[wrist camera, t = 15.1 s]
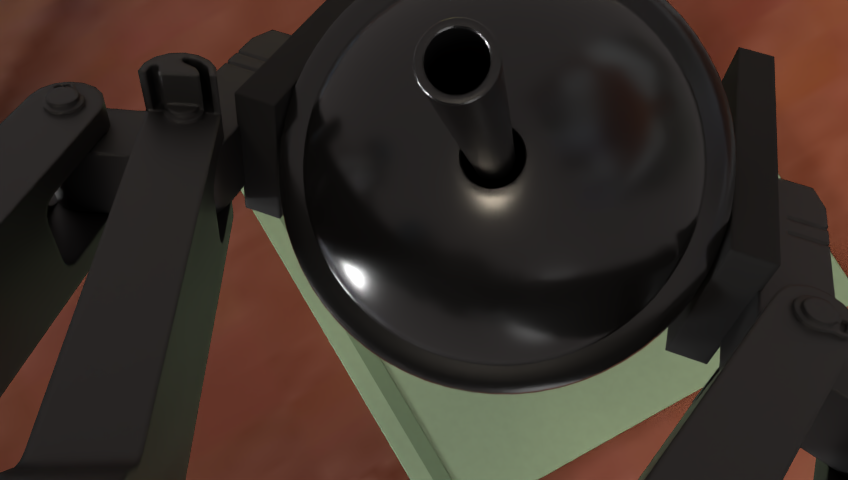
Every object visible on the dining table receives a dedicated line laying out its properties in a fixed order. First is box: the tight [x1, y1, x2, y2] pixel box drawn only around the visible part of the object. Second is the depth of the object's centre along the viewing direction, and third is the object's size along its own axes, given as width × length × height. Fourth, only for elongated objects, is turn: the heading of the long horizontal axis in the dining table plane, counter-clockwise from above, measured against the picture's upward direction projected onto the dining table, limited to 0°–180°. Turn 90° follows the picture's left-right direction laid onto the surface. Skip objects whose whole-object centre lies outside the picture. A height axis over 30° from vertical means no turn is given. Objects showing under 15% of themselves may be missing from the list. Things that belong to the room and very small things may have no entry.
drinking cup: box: [279, 0, 737, 394], centre depth 15 cm, size 8×8×20 cm
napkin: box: [241, 174, 848, 480], centre depth 33 cm, size 22×22×1 cm
